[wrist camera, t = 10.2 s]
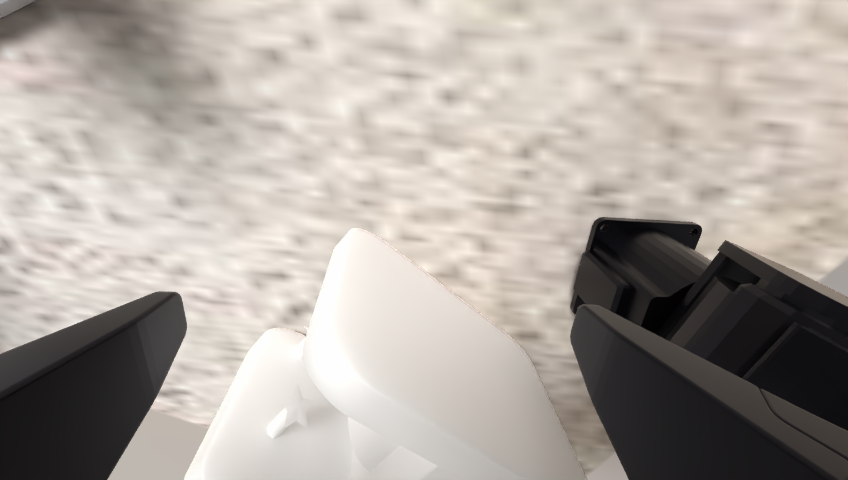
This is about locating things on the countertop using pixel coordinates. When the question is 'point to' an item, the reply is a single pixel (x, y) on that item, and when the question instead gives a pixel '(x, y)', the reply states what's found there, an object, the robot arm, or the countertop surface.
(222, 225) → the countertop surface
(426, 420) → the cable organizer
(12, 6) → the board
